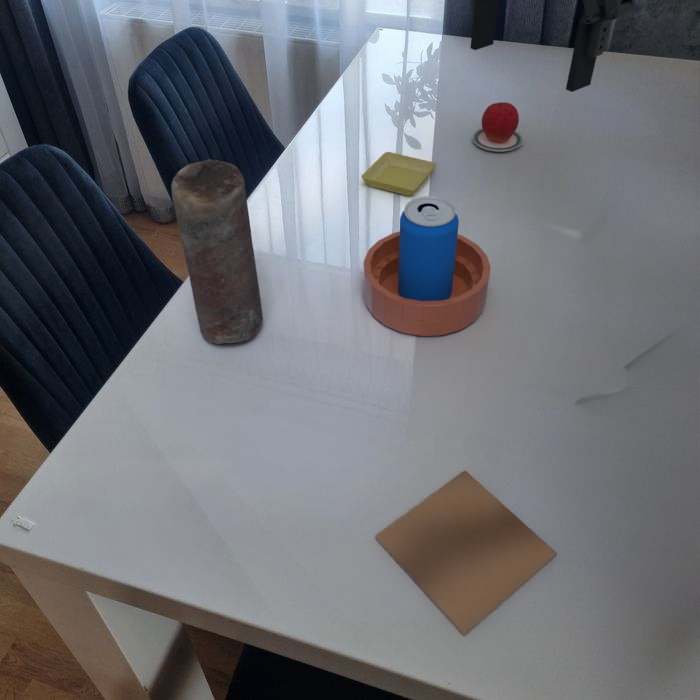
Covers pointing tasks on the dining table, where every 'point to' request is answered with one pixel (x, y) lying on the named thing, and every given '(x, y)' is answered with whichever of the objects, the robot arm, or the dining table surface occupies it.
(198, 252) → the stone cylinder
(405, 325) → the bowl
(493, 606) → the cork mat
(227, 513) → the dining table surface
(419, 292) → the beverage can
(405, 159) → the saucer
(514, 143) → the apple
